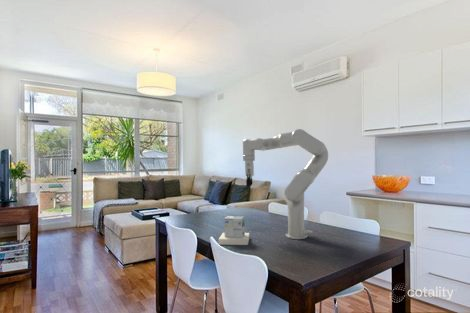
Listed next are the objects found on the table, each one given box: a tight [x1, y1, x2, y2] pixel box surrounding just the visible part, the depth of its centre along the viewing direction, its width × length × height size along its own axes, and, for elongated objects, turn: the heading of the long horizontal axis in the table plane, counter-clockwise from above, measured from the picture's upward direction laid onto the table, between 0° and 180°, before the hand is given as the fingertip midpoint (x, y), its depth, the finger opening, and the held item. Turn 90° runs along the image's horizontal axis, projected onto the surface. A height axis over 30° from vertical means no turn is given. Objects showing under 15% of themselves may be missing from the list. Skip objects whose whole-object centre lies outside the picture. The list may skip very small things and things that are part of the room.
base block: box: [218, 232, 250, 246], centre depth 157 cm, size 16×14×3 cm
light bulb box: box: [223, 215, 246, 238], centre depth 157 cm, size 11×7×11 cm, turn 76°
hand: (249, 185), depth 175 cm, fingers open, 9 cm apart
